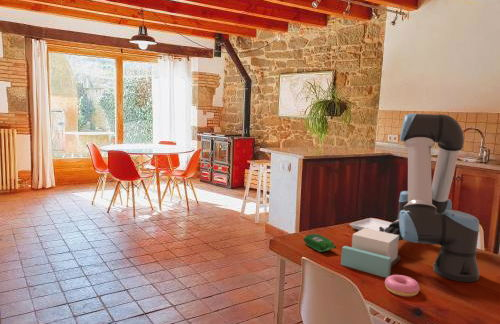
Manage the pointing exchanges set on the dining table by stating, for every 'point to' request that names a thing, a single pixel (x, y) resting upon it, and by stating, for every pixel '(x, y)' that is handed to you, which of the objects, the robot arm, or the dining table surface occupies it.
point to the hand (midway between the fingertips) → (380, 241)
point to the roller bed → (395, 261)
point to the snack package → (319, 242)
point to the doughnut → (402, 285)
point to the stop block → (366, 261)
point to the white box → (376, 242)
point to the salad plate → (370, 224)
